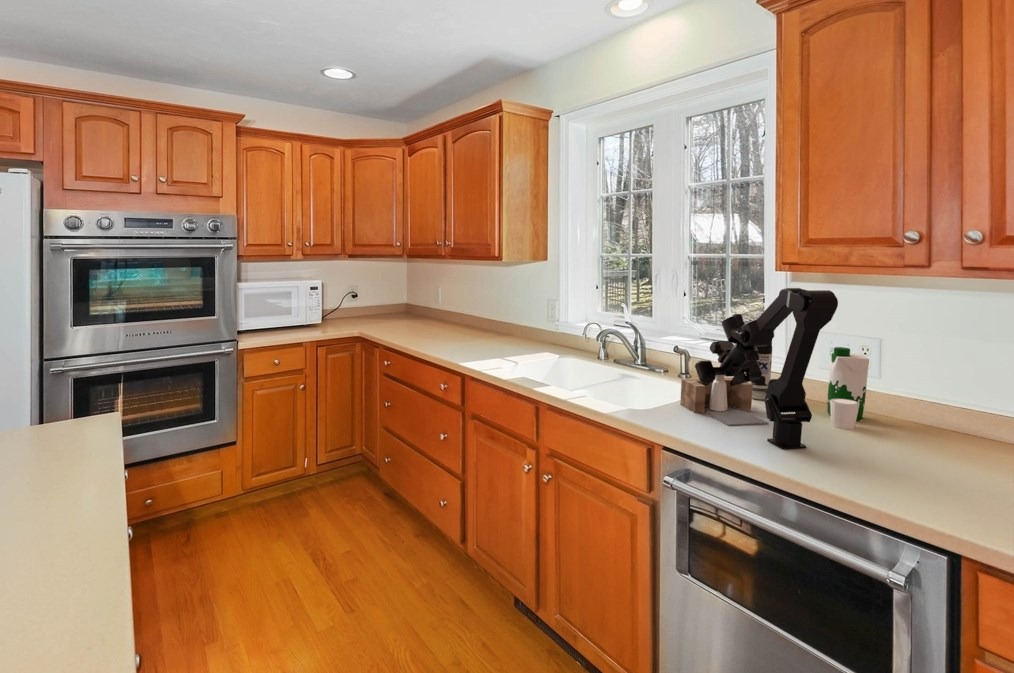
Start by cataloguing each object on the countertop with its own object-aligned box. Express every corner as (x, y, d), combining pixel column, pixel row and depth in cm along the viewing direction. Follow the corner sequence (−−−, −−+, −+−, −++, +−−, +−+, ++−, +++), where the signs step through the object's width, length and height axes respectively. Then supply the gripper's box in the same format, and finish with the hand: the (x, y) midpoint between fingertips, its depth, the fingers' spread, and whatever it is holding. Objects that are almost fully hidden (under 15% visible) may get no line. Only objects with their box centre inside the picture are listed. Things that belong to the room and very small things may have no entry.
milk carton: (823, 411, 170) (828, 345, 167) (857, 414, 167) (863, 346, 164) (831, 419, 161) (837, 350, 159) (867, 422, 159) (874, 351, 156)
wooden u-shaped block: (751, 410, 171) (752, 384, 170) (694, 412, 168) (696, 386, 167) (734, 402, 180) (735, 377, 179) (680, 404, 177) (681, 379, 176)
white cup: (849, 422, 159) (851, 398, 158) (862, 430, 152) (864, 404, 151) (823, 422, 159) (825, 397, 158) (835, 429, 152) (837, 404, 151)
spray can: (748, 399, 184) (752, 338, 181) (745, 394, 190) (749, 335, 187) (770, 401, 182) (774, 339, 179) (767, 396, 188) (771, 336, 185)
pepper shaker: (731, 410, 171) (733, 374, 169) (716, 412, 169) (718, 375, 167) (719, 406, 176) (721, 371, 174) (704, 407, 174) (706, 372, 173)
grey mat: (768, 424, 157) (768, 422, 157) (728, 425, 155) (728, 424, 155) (744, 412, 169) (744, 410, 169) (706, 413, 167) (706, 412, 167)
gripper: (759, 332, 166) (736, 362, 179) (699, 333, 164) (680, 363, 176) (773, 364, 160) (748, 392, 172) (711, 366, 157) (690, 395, 170)
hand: (716, 385), depth 173 cm, fingers open, 9 cm apart
